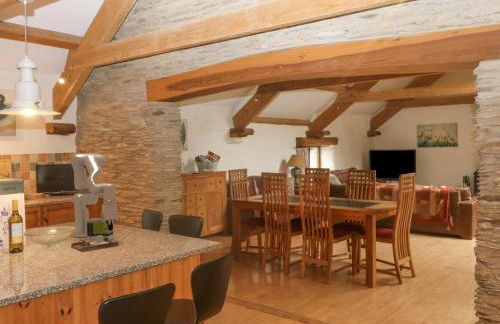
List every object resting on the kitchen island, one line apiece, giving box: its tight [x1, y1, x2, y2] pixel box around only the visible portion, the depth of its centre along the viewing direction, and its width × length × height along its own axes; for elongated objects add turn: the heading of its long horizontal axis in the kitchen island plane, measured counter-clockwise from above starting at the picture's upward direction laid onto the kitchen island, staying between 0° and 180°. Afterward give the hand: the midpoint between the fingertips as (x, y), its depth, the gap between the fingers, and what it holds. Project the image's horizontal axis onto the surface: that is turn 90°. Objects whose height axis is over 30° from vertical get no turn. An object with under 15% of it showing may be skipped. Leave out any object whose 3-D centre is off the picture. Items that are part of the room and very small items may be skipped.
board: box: [70, 237, 120, 253], centre depth 297 cm, size 18×24×5 cm
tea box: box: [86, 217, 114, 241], centre depth 317 cm, size 15×10×15 cm
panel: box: [85, 235, 109, 246], centre depth 298 cm, size 14×10×5 cm
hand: (110, 230), depth 303 cm, fingers closed
